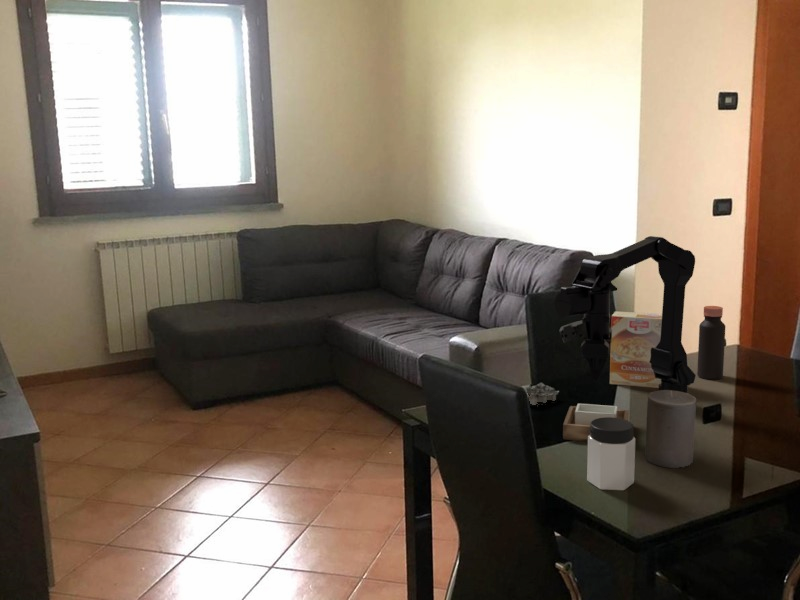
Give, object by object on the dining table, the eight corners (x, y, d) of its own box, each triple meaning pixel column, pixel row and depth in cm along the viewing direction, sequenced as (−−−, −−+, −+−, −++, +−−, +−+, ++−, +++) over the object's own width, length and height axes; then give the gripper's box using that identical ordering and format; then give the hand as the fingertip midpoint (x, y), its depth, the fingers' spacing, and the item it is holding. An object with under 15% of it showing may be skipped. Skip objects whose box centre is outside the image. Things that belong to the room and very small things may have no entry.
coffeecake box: (609, 384, 220) (610, 315, 216) (612, 377, 226) (614, 310, 223) (665, 389, 214) (668, 318, 211) (668, 382, 221) (670, 313, 217)
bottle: (726, 379, 221) (730, 309, 217) (702, 380, 221) (705, 310, 218) (717, 373, 228) (720, 304, 224) (693, 373, 228) (696, 305, 224)
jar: (601, 469, 162) (602, 413, 160) (639, 479, 157) (641, 421, 155) (580, 484, 155) (581, 426, 153) (619, 495, 150) (621, 434, 148)
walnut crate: (628, 424, 188) (628, 410, 187) (625, 444, 175) (625, 429, 175) (569, 419, 192) (570, 405, 192) (562, 439, 179) (563, 424, 179)
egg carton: (529, 409, 201) (529, 394, 201) (511, 402, 208) (510, 387, 207) (561, 401, 207) (561, 386, 206) (542, 394, 213) (542, 380, 212)
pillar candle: (635, 458, 168) (637, 390, 165) (662, 446, 173) (665, 381, 170) (675, 472, 160) (679, 401, 157) (703, 460, 166) (707, 391, 163)
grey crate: (616, 426, 185) (617, 406, 184) (615, 435, 180) (615, 414, 179) (577, 423, 188) (577, 403, 187) (574, 432, 182) (575, 411, 181)
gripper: (565, 302, 196) (565, 363, 199) (557, 319, 178) (557, 385, 181) (612, 303, 193) (611, 365, 196) (608, 320, 175) (608, 388, 178)
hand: (596, 375), depth 188 cm, fingers open, 9 cm apart
